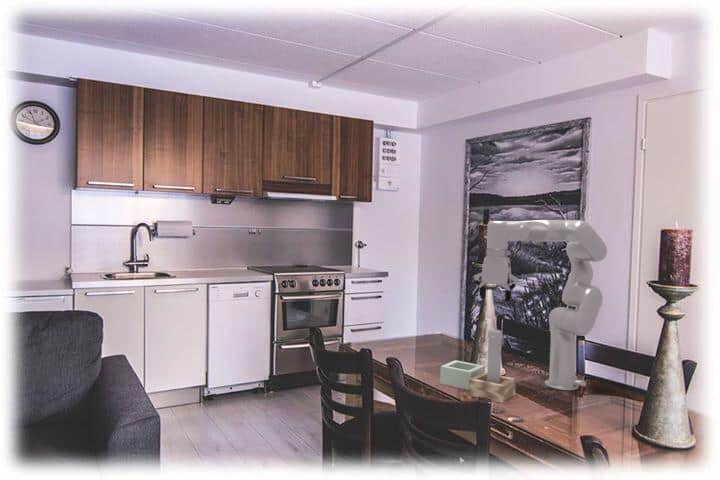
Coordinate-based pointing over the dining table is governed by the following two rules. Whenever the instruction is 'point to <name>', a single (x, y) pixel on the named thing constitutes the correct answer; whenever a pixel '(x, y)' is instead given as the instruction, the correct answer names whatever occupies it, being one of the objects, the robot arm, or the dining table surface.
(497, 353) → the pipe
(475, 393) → the oak collar
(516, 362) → the dining table surface
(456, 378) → the holder block
